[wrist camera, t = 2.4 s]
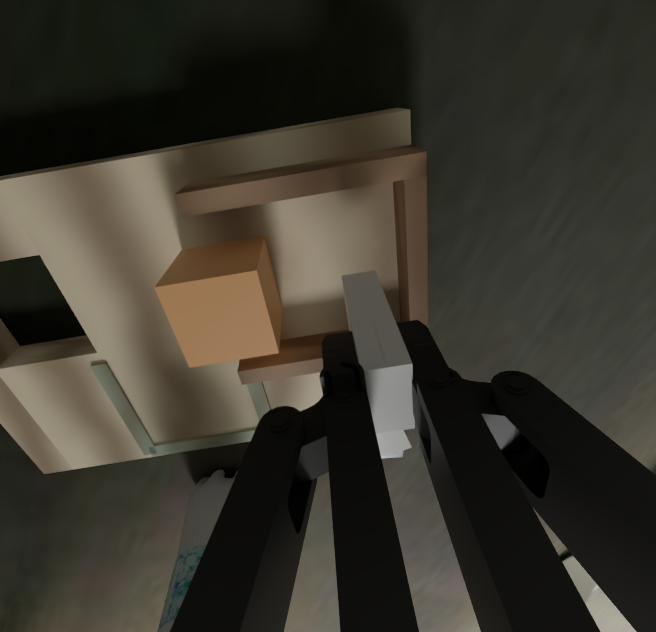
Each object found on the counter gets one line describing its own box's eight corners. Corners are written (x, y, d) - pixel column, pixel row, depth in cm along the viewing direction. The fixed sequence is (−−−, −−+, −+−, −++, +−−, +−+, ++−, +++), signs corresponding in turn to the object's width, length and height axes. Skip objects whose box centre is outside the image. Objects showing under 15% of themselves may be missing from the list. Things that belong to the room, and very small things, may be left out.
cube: (208, 320, 22) (189, 367, 18) (181, 249, 20) (154, 287, 16) (282, 307, 22) (279, 352, 18) (264, 235, 20) (256, 270, 16)
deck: (62, 447, 30) (42, 476, 28) (-131, 199, 20) (-187, 213, 18) (410, 391, 30) (419, 416, 28) (397, 107, 19) (411, 109, 17)
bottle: (180, 495, 35) (65, 891, 17) (209, 451, 32) (107, 870, 15) (246, 513, 37) (202, 882, 20) (279, 474, 34) (261, 862, 17)
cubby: (246, 358, 24) (241, 384, 22) (188, 182, 18) (174, 194, 16) (416, 331, 24) (428, 354, 22) (411, 144, 18) (426, 151, 16)
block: (346, 420, 28) (352, 467, 24) (324, 383, 26) (328, 428, 22) (397, 402, 27) (411, 447, 23) (379, 362, 25) (392, 405, 21)
